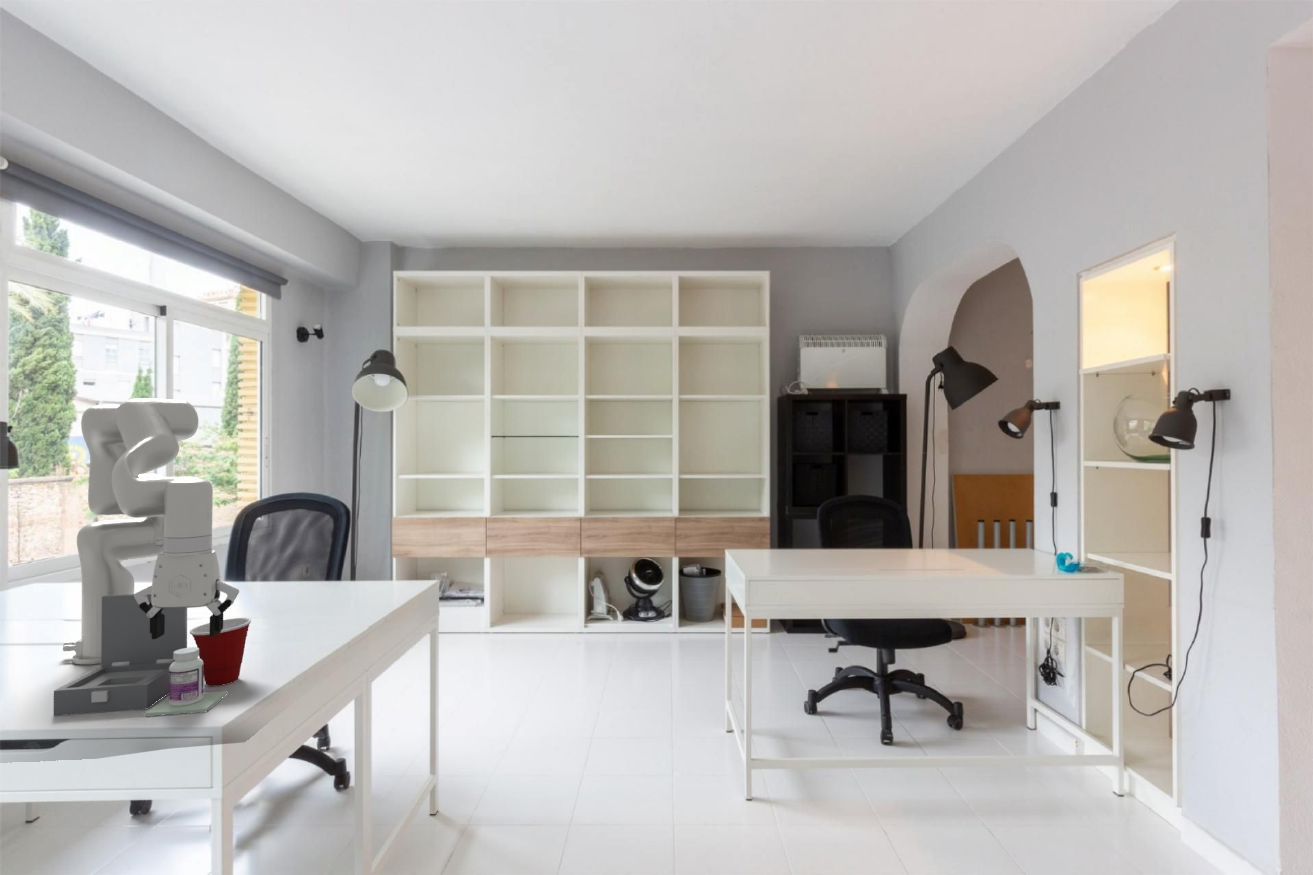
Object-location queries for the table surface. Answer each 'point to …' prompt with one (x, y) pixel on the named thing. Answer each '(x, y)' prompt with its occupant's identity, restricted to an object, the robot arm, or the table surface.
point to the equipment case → (126, 661)
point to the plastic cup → (222, 650)
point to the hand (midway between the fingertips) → (186, 636)
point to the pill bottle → (186, 677)
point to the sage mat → (200, 706)
